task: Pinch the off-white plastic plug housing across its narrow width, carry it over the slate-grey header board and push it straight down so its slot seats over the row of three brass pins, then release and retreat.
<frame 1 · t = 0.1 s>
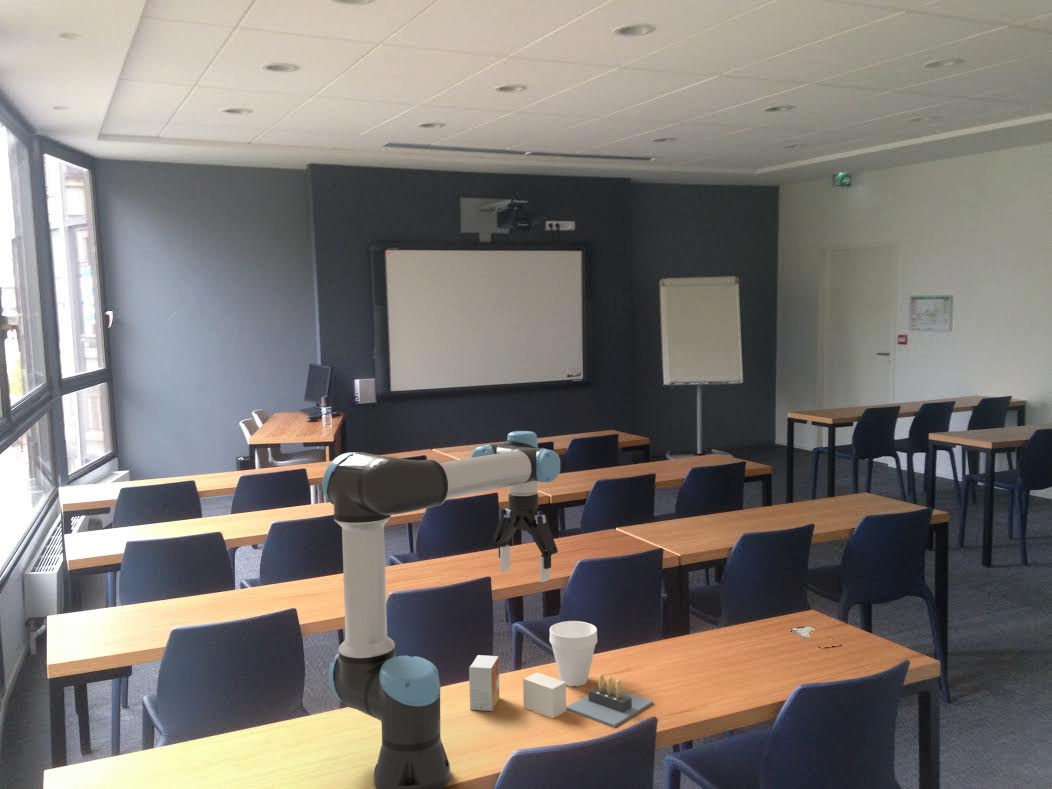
hand: (524, 576, 210), 28 cm above the table, fingers open, 13 cm apart
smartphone: (814, 640, 240), on the table
header: (609, 706, 198), on the table
housing: (544, 709, 197), on the table
cup: (573, 681, 213), on the table
small box: (485, 704, 200), on the table
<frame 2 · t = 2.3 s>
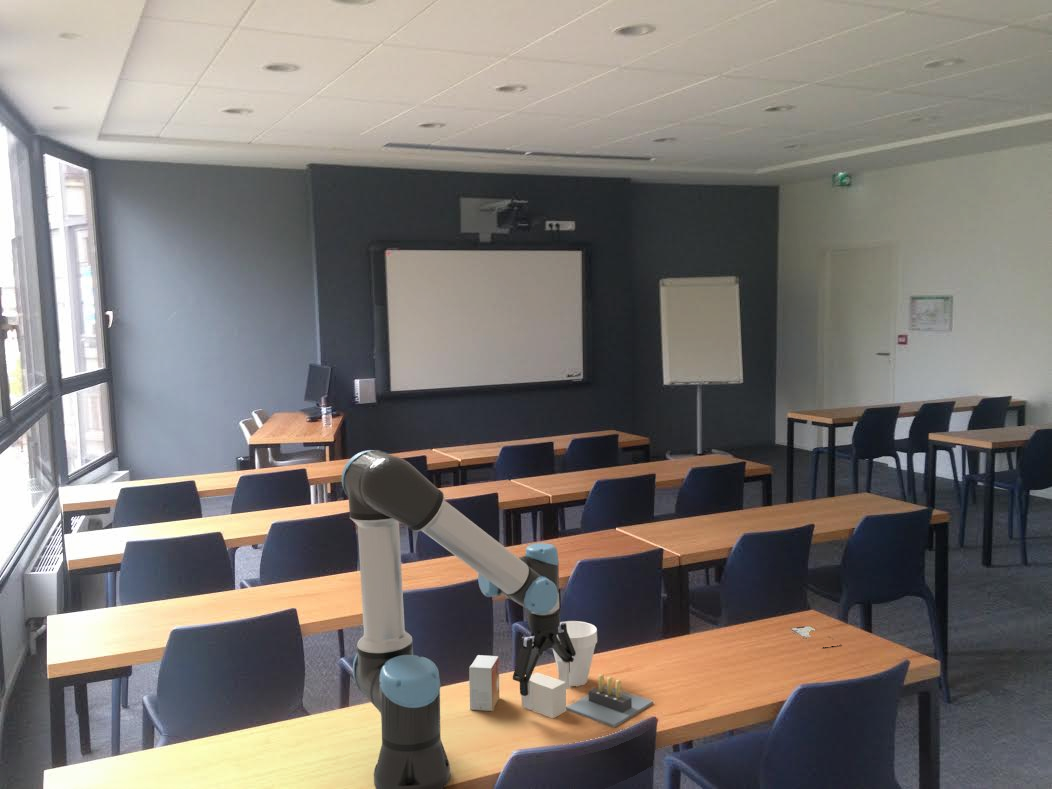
hand: (546, 697, 197), 3 cm above the table, fingers open, 13 cm apart
nothing on the table moved.
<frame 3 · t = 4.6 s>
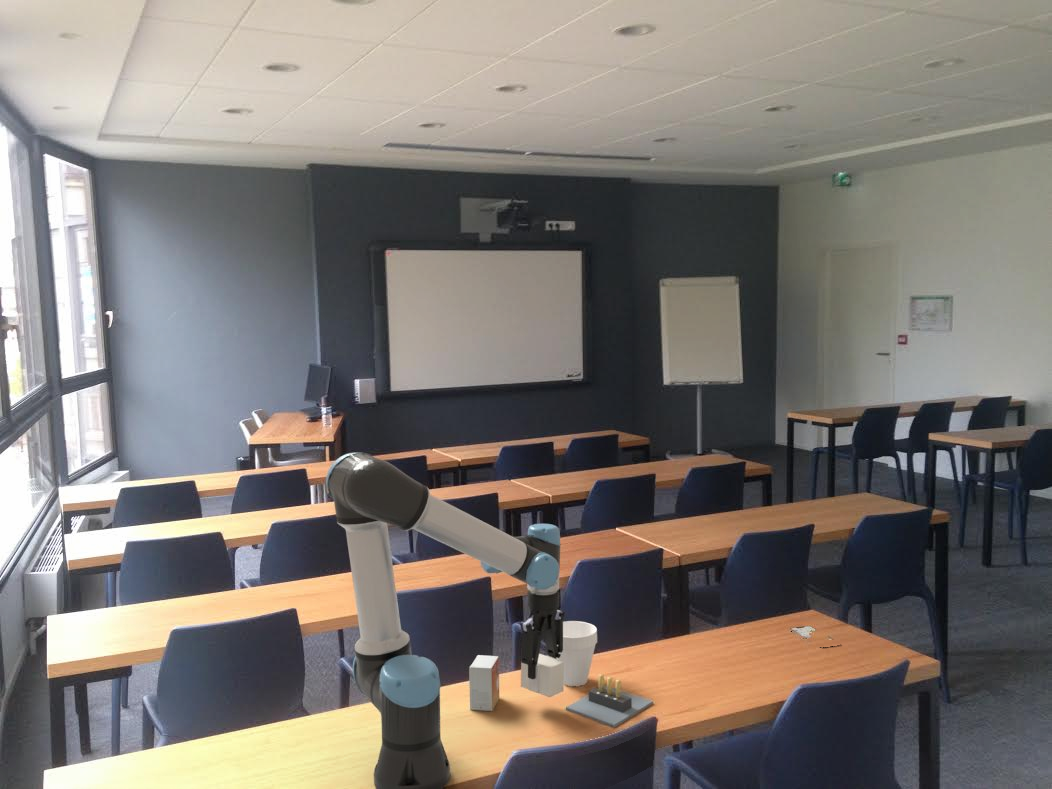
hand: (542, 687, 196), 5 cm above the table, fingers closed on housing, 5 cm apart
housing: (542, 688, 196), point 5 cm above the table, touching gripper
everything else where it was.
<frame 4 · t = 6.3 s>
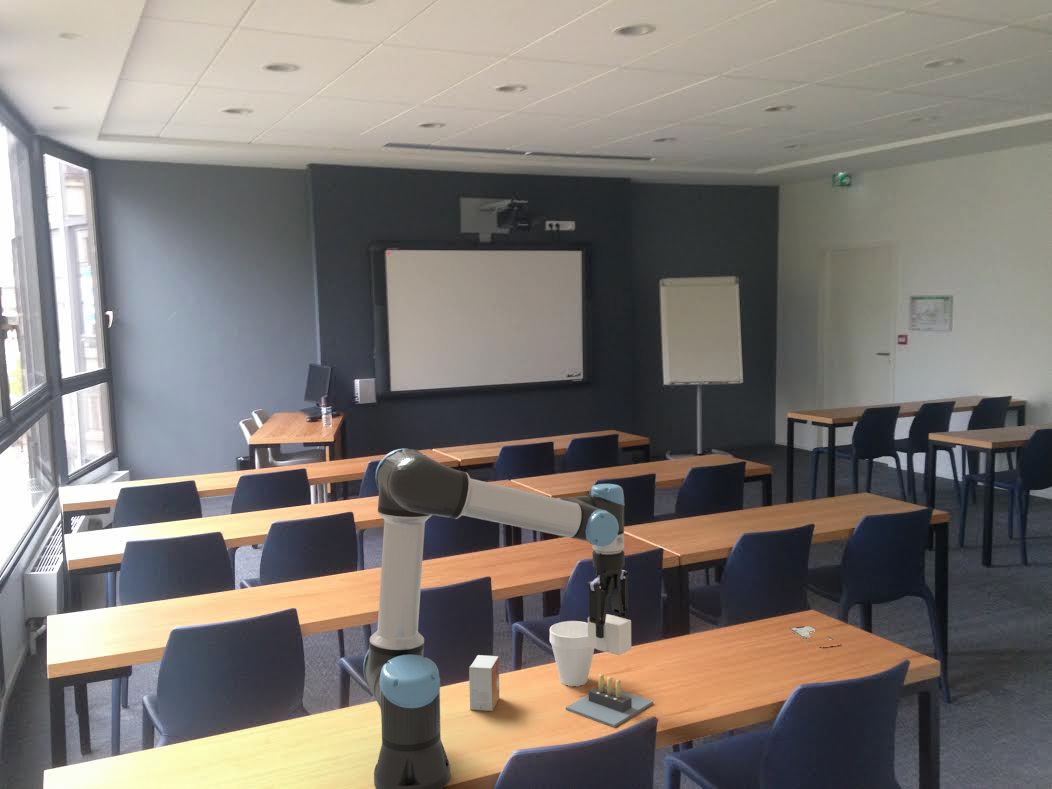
hand: (609, 646, 197), 15 cm above the table, fingers closed on housing, 5 cm apart
housing: (609, 647, 197), point 14 cm above the table, touching gripper
everything else where it was.
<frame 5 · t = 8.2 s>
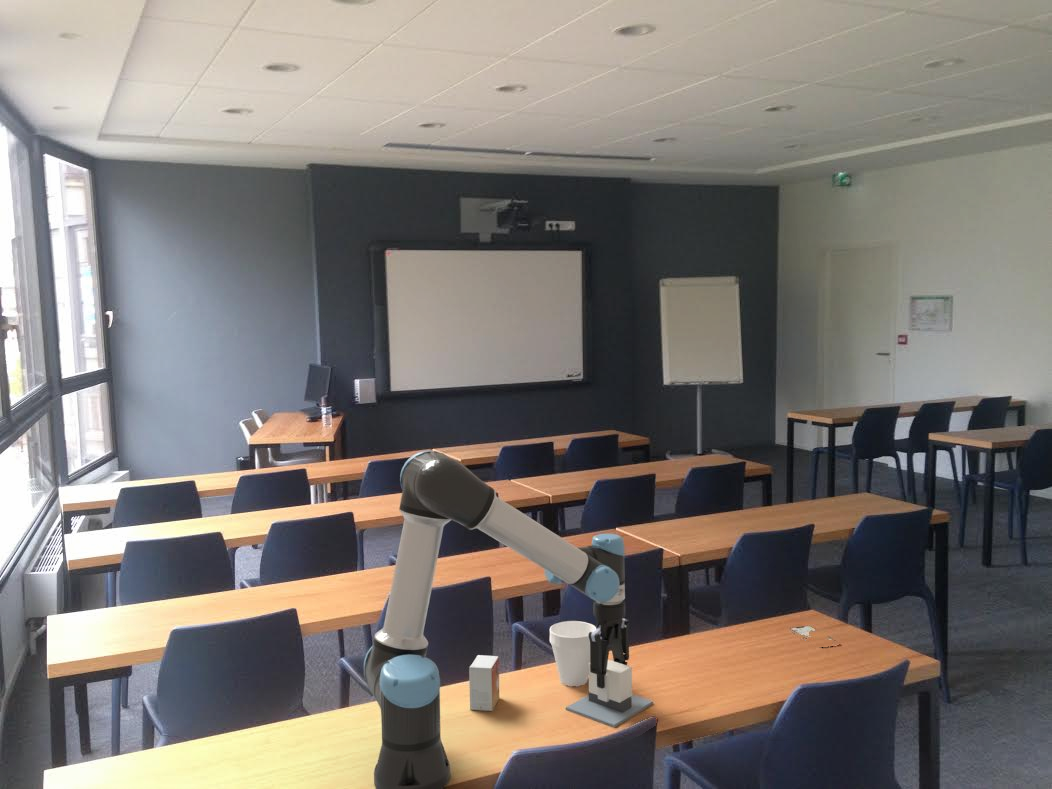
hand: (610, 695, 198), 3 cm above the table, fingers closed on housing, 5 cm apart
housing: (610, 693, 198), point 3 cm above the table, touching gripper, header
everything else where it was.
when the fingers open (3 cm above the table, at t = 9.1 s): housing stays where it is, resting on header.
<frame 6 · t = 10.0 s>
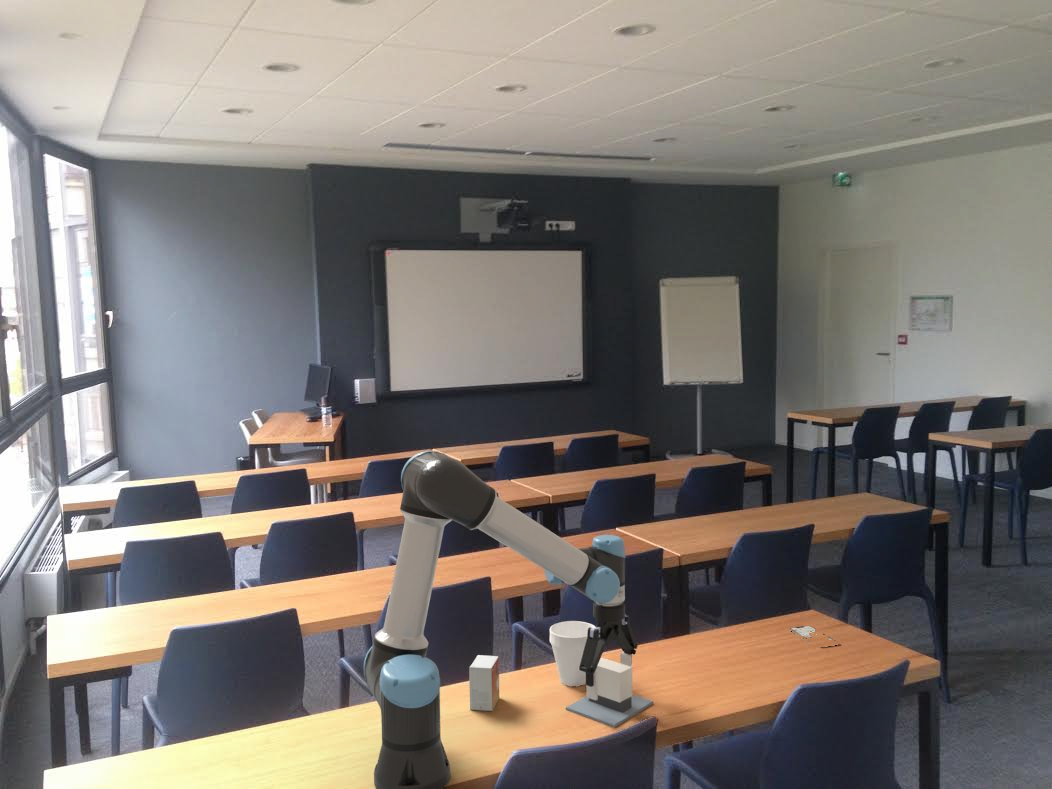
hand: (609, 689, 197), 4 cm above the table, fingers open, 13 cm apart
housing: (610, 694, 198), point 3 cm above the table, touching header
everything else where it was.
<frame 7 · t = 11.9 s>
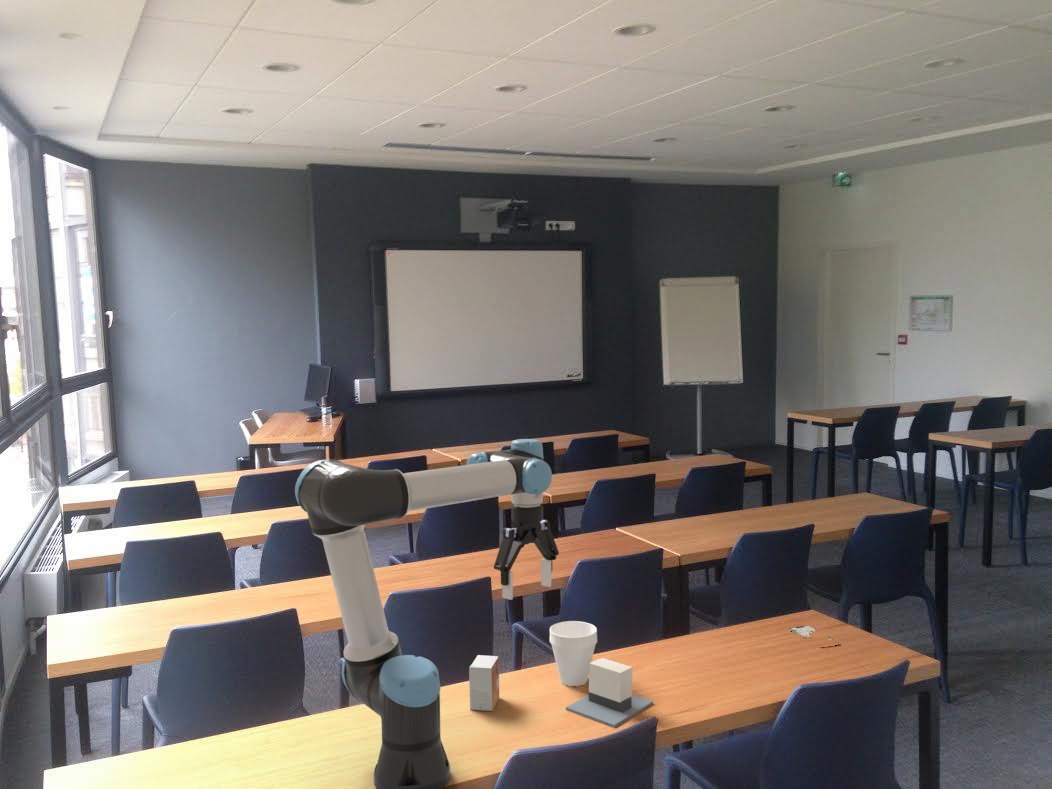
hand: (527, 592, 199), 27 cm above the table, fingers open, 13 cm apart
nothing on the table moved.
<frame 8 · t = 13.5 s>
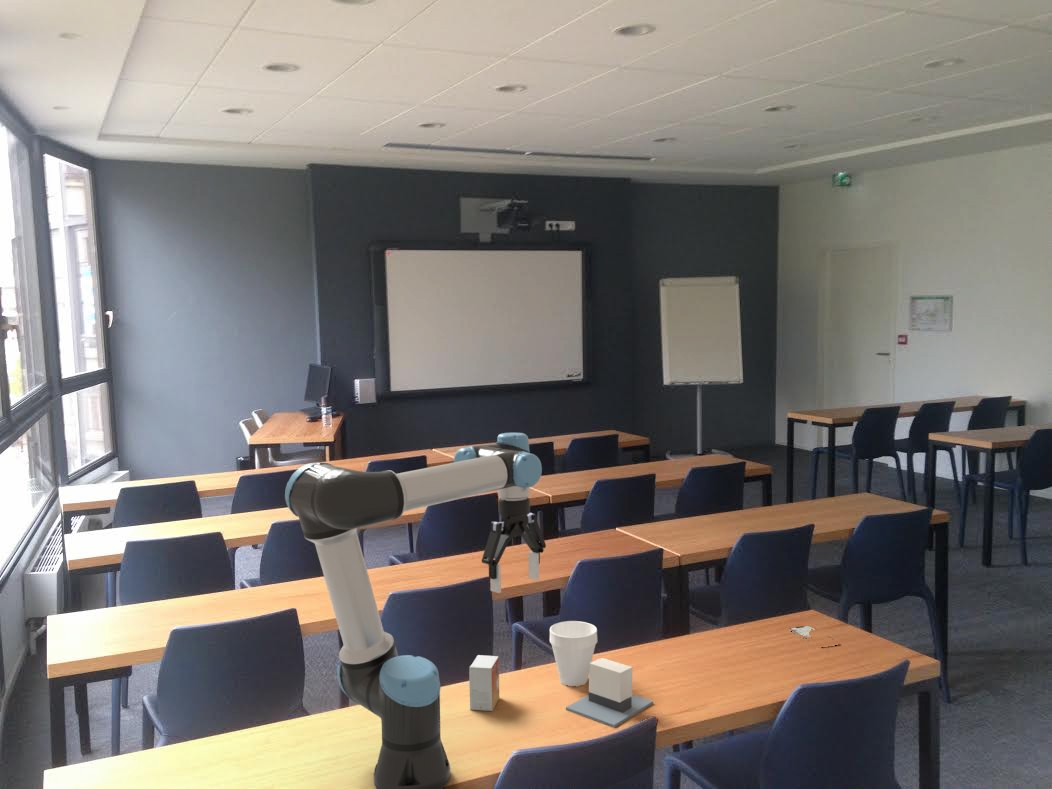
hand: (515, 585, 199), 29 cm above the table, fingers open, 13 cm apart
nothing on the table moved.
at the end: housing 0.1 cm off-centre on the header, point 3.1 cm above the header's base; housing tilted 2°; the gripper is holding nothing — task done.
